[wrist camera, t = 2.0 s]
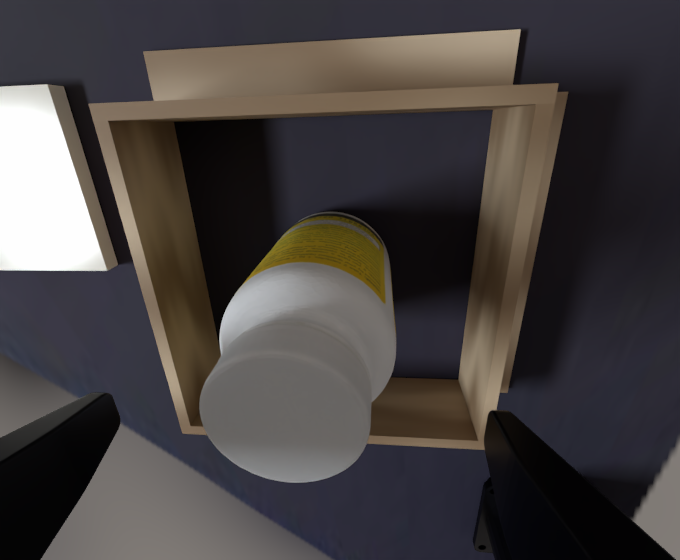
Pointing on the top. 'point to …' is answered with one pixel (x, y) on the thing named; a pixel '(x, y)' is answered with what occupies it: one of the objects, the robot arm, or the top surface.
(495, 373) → the light brown piece
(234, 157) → the top surface
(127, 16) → the top surface
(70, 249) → the tile
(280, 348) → the supplement bottle
